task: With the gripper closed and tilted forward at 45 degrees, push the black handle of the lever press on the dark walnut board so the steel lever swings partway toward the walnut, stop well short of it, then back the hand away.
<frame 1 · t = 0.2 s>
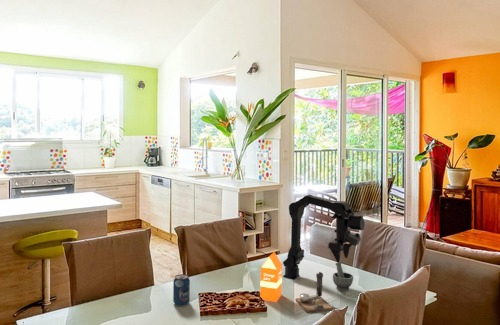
hand: (342, 260, 194), 14 cm above the table, tool pointing down, fingers open, 9 cm apart
mortar and pestle: (341, 289, 196), on the table
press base: (304, 304, 177), on the table
soda can: (181, 304, 175), on the table
orange juice: (270, 297, 184), on the table
lever: (311, 286, 178), point 7 cm above the table, hinge at -12.0°
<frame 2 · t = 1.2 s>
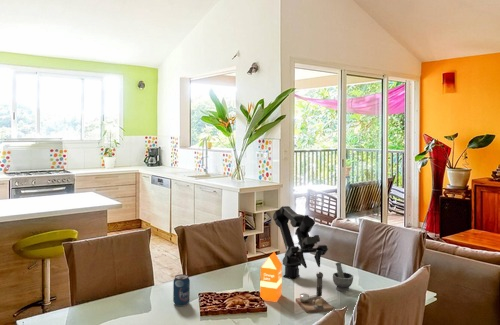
hand: (312, 267, 187), 13 cm above the table, tool tilted 45°, fingers open, 6 cm apart
nothing on the table moved.
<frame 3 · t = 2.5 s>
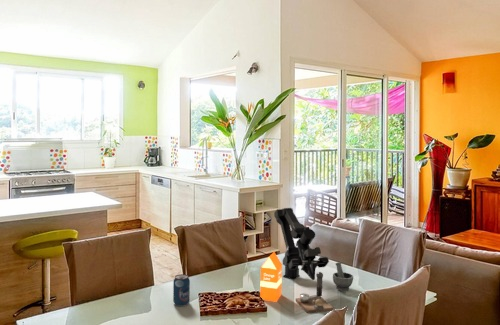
hand: (313, 279, 186), 8 cm above the table, tool tilted 45°, fingers closed
nothing on the table moved.
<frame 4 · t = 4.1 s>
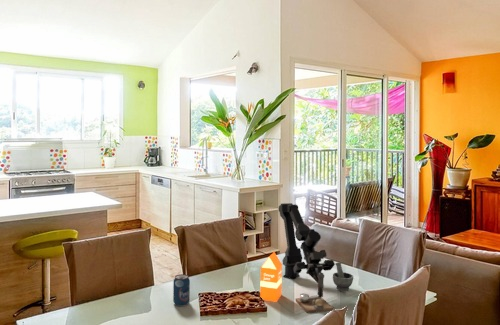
hand: (319, 283, 181), 8 cm above the table, tool tilted 45°, fingers closed, pressing on lever
lever: (312, 286, 178), point 7 cm above the table, hinge at -5.6°, touching gripper
everything else where it was.
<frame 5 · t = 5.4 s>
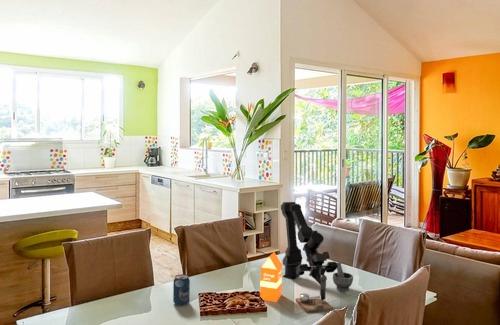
hand: (322, 285, 178), 8 cm above the table, tool tilted 45°, fingers closed
lever: (313, 287, 176), point 7 cm above the table, hinge at 15.7°, touching gripper
everything else where it was.
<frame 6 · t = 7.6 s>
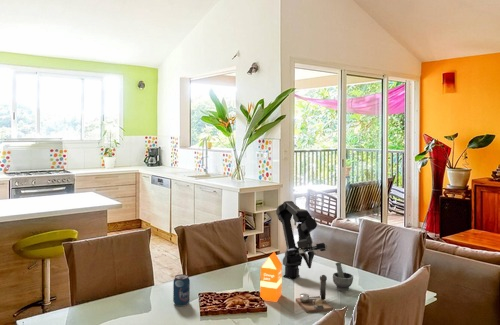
hand: (309, 268, 189), 12 cm above the table, tool tilted 30°, fingers closed
lever: (313, 287, 176), point 7 cm above the table, hinge at 15.7°
everything else where it was.
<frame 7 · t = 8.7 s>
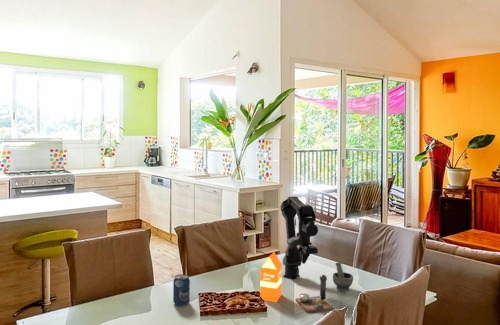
hand: (303, 263, 194), 13 cm above the table, tool pointing down, fingers closed
nothing on the table moved.
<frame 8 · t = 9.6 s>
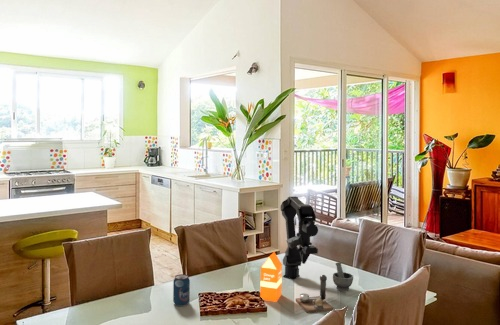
hand: (303, 263, 194), 12 cm above the table, tool pointing down, fingers closed
nothing on the table moved.
at the end: lever at +16° (first picture: -12°) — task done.
